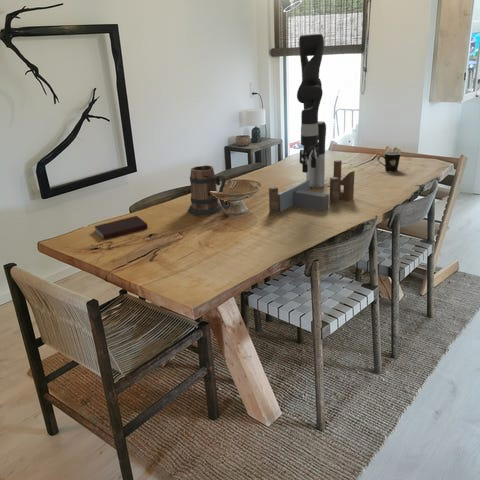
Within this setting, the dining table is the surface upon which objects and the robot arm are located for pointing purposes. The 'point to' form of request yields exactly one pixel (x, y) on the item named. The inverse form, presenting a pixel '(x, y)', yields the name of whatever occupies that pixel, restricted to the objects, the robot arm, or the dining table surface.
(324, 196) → the block
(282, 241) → the dining table surface
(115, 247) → the dining table surface
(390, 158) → the coffee mug
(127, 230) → the book
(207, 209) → the tankard
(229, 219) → the dining table surface
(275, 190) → the gate frame
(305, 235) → the dining table surface
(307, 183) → the gate leaf
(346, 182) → the wooden block
